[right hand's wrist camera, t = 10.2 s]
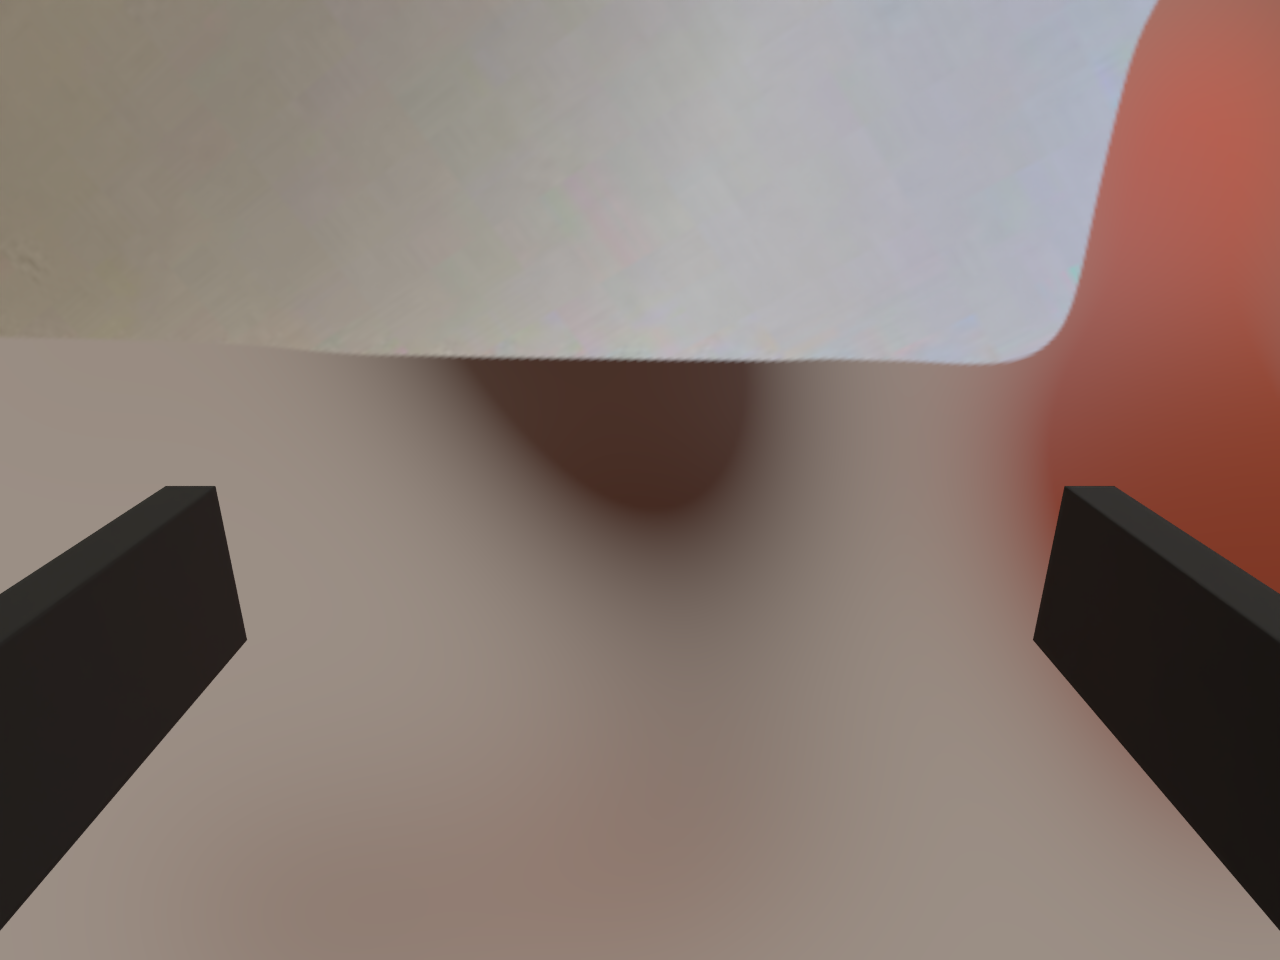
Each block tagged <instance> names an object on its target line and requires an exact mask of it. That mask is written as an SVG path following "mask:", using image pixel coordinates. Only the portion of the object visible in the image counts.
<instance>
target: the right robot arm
mask: <svg viewBox="0 0 1280 960" xmlns="http://www.w3.org/2000/svg"><path fill="white" fill-rule="evenodd" d="M246 640H247V638H246V633H245V628H244V623H243V618H242V613H241V609H240V604H239V599H238V594H237V589H236V584H235V580H234V575H233V570H232V565H231V560H230V555H229V550H228V545H227V540H226V536H225V531H224V526H223V521H222V516H221V511H220V506H219V501H218V497H217V492H216V487H215V486H165V487H164V488H162V489H161V490H159V491H158V492H156V493H155V494H153V495H151V496H150V497H148V498H147V499H145V500H144V501H142V502H141V503H139V504H138V505H136V506H135V507H133V508H132V509H130V510H128V511H127V512H125V513H124V514H122V515H121V516H119V517H118V518H116V519H115V520H113V521H112V522H110V523H109V524H107V525H105V526H104V527H102V528H101V529H99V530H98V531H96V532H95V533H93V534H92V535H90V536H89V537H87V538H86V539H84V540H82V541H81V542H79V543H78V544H76V545H75V546H73V547H72V548H70V549H69V550H67V551H66V552H64V553H63V554H61V555H59V556H58V557H56V558H55V559H53V560H52V561H50V562H49V563H47V564H46V565H44V566H43V567H41V568H39V569H38V570H36V571H35V572H33V573H32V574H30V575H29V576H27V577H26V578H24V579H23V580H21V581H20V582H18V583H16V584H15V585H13V586H12V587H10V588H9V589H7V590H6V591H4V592H3V593H1V594H0V930H1V929H2V928H3V927H4V925H5V924H6V923H7V922H8V921H9V920H10V918H11V917H12V916H13V915H14V914H15V912H16V911H17V910H18V909H19V908H20V907H21V905H22V904H23V903H24V902H25V901H26V900H27V898H28V897H29V896H30V895H31V894H32V892H33V891H34V890H35V889H36V888H37V887H38V885H39V884H40V883H41V882H42V881H43V879H44V878H45V877H46V876H47V875H48V874H49V872H50V871H51V870H52V869H53V868H54V867H55V865H56V864H57V863H58V862H59V861H60V860H61V858H62V857H63V856H64V855H65V854H66V852H67V851H68V850H69V849H70V848H71V847H72V845H73V844H74V843H75V842H76V841H77V839H78V838H79V837H80V836H81V835H82V834H83V832H84V831H85V830H86V829H87V828H88V826H89V825H90V824H91V823H92V822H93V821H94V819H95V818H96V817H97V816H98V815H99V814H100V812H101V811H102V810H103V809H104V808H105V806H106V805H107V804H108V803H109V802H110V801H111V799H112V798H113V797H114V796H115V795H116V794H117V792H118V791H119V790H120V789H121V788H122V786H123V785H124V784H125V783H126V782H127V781H128V779H129V778H130V777H131V776H132V775H133V774H134V772H135V771H136V770H137V769H138V768H139V766H140V765H141V764H142V763H143V762H144V761H145V759H146V758H147V757H148V756H149V755H150V753H151V752H152V751H153V750H154V749H155V748H156V746H157V745H158V744H159V743H160V742H161V741H162V739H163V738H164V737H165V736H166V735H167V733H168V732H169V731H170V730H171V729H172V728H173V726H174V725H175V724H176V723H177V722H178V720H179V719H180V718H181V717H182V716H183V715H184V713H185V712H186V711H187V710H188V709H189V708H190V706H191V705H192V704H193V703H194V702H195V700H196V699H197V698H198V697H199V696H200V695H201V693H202V692H203V691H204V690H205V689H206V688H207V686H208V685H209V684H210V683H211V682H212V680H213V679H214V678H215V677H216V676H217V675H218V673H219V672H220V671H221V670H222V669H223V668H224V666H225V665H226V664H227V663H228V662H229V660H230V659H231V658H232V657H233V656H234V655H235V653H236V652H237V651H238V650H239V649H240V648H241V646H242V645H243V644H244V643H245V642H246ZM1033 640H1034V642H1035V643H1036V644H1037V645H1038V646H1039V647H1040V649H1041V650H1042V651H1043V652H1044V653H1045V655H1046V656H1047V657H1048V658H1049V659H1050V660H1051V662H1052V663H1053V664H1054V665H1055V666H1056V668H1057V669H1058V670H1059V671H1060V672H1061V673H1062V675H1063V676H1064V677H1065V678H1066V679H1067V680H1068V682H1069V683H1070V684H1071V685H1072V686H1073V688H1074V689H1075V690H1076V691H1077V692H1078V693H1079V695H1080V696H1081V697H1082V698H1083V699H1084V701H1085V702H1086V703H1087V704H1088V705H1089V706H1090V708H1091V709H1092V710H1093V711H1094V712H1095V713H1096V715H1097V716H1098V717H1099V718H1100V719H1101V720H1102V722H1103V723H1104V724H1105V725H1106V726H1107V728H1108V729H1109V730H1110V731H1111V732H1112V733H1113V735H1114V736H1115V737H1116V738H1117V739H1118V741H1119V742H1120V743H1121V744H1122V745H1123V746H1124V748H1125V749H1126V750H1127V751H1128V752H1129V753H1130V755H1131V756H1132V757H1133V758H1134V759H1135V761H1136V762H1137V763H1138V764H1139V765H1140V766H1141V768H1142V769H1143V770H1144V771H1145V772H1146V774H1147V775H1148V776H1149V777H1150V778H1151V779H1152V781H1153V782H1154V783H1155V784H1156V785H1157V786H1158V788H1159V789H1160V790H1161V791H1162V792H1163V794H1164V795H1165V796H1166V797H1167V798H1168V799H1169V801H1170V802H1171V803H1172V804H1173V805H1174V806H1175V808H1176V809H1177V810H1178V811H1179V812H1180V814H1181V815H1182V816H1183V817H1184V818H1185V819H1186V821H1187V822H1188V823H1189V824H1190V825H1191V827H1192V828H1193V829H1194V830H1195V831H1196V832H1197V834H1198V835H1199V836H1200V837H1201V838H1202V839H1203V841H1204V842H1205V843H1206V844H1207V845H1208V847H1209V848H1210V849H1211V850H1212V851H1213V852H1214V854H1215V855H1216V856H1217V857H1218V858H1219V859H1220V861H1221V862H1222V863H1223V864H1224V865H1225V866H1226V868H1227V869H1228V870H1229V871H1230V872H1231V874H1232V875H1233V876H1234V877H1235V878H1236V879H1237V881H1238V882H1239V883H1240V884H1241V885H1242V887H1243V888H1244V889H1245V890H1246V891H1247V892H1248V894H1249V895H1250V896H1251V897H1252V898H1253V899H1254V901H1255V902H1256V903H1257V904H1258V905H1259V907H1260V908H1261V909H1262V910H1263V911H1264V912H1265V914H1266V915H1267V916H1268V917H1269V918H1270V920H1271V921H1272V922H1273V923H1274V924H1275V925H1276V927H1277V928H1278V929H1279V930H1280V594H1279V593H1277V592H1276V591H1274V590H1273V589H1271V588H1270V587H1268V586H1267V585H1265V584H1263V583H1262V582H1260V581H1259V580H1257V579H1256V578H1254V577H1253V576H1251V575H1250V574H1248V573H1247V572H1245V571H1244V570H1242V569H1241V568H1239V567H1237V566H1236V565H1234V564H1233V563H1231V562H1230V561H1228V560H1227V559H1225V558H1224V557H1222V556H1221V555H1219V554H1217V553H1216V552H1214V551H1213V550H1211V549H1210V548H1208V547H1207V546H1205V545H1204V544H1202V543H1201V542H1199V541H1198V540H1196V539H1194V538H1193V537H1191V536H1190V535H1188V534H1187V533H1185V532H1184V531H1182V530H1181V529H1179V528H1178V527H1176V526H1175V525H1173V524H1171V523H1170V522H1168V521H1167V520H1165V519H1164V518H1162V517H1161V516H1159V515H1158V514H1156V513H1155V512H1153V511H1152V510H1150V509H1148V508H1147V507H1145V506H1144V505H1142V504H1141V503H1139V502H1138V501H1136V500H1135V499H1133V498H1132V497H1130V496H1129V495H1127V494H1125V493H1124V492H1122V491H1121V490H1119V489H1118V488H1116V487H1115V486H1065V487H1064V492H1063V497H1062V501H1061V506H1060V511H1059V516H1058V521H1057V526H1056V531H1055V536H1054V540H1053V545H1052V550H1051V555H1050V560H1049V565H1048V570H1047V574H1046V579H1045V584H1044V589H1043V594H1042V599H1041V604H1040V609H1039V614H1038V618H1037V624H1036V628H1035V633H1034V638H1033Z"/></svg>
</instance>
